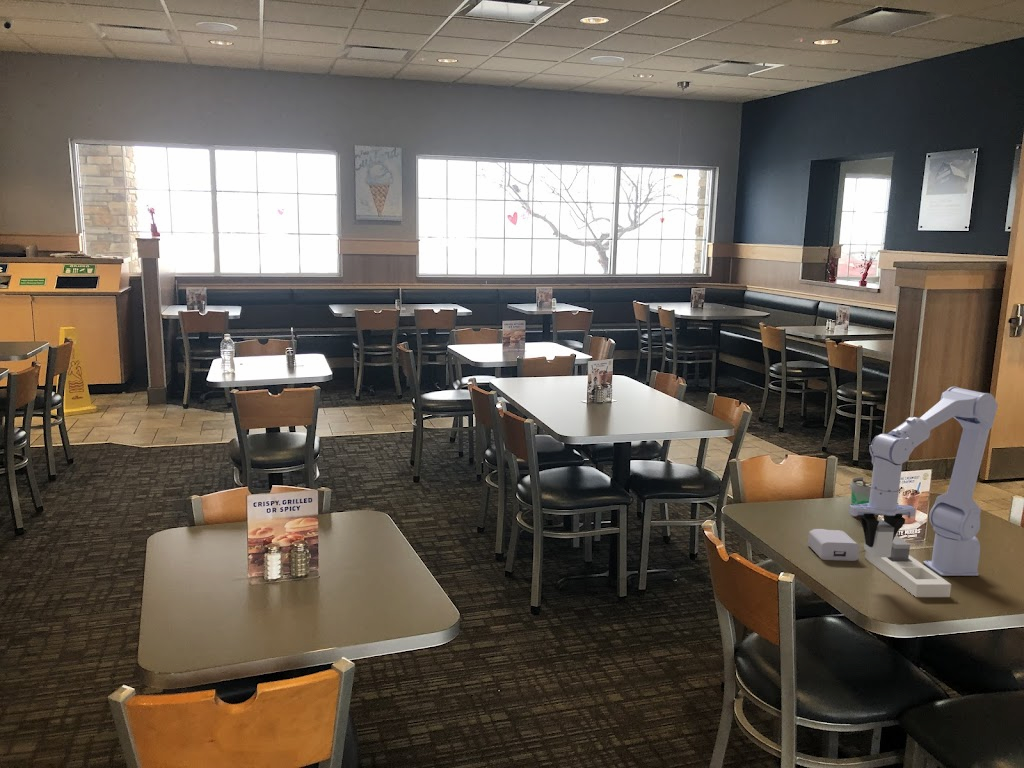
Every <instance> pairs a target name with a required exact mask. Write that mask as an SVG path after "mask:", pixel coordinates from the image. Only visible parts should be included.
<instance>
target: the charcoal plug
mask: <svg viewBox="0 0 1024 768" xmlns="http://www.w3.org/2000/svg"><path fill="white" fill-rule="evenodd" d="M910 548H911V544H910V543H909V542H907V541H906V540H904V539H903V538H901V537H900V536H895V537H894V540H893V542H892V549H891V557H887V558H888V559H889V560H891V561H892V562H908V557H909V555H910Z"/></svg>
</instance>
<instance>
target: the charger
mask: <svg viewBox="0 0 1024 768" xmlns="http://www.w3.org/2000/svg"><path fill="white" fill-rule="evenodd" d="M807 545H808V546H809V547H810V548H811V550H812V551H813V552H815V554H816V555H817V556H818V557H819V558H820V559H821V560H825V561H849V562H850V561H853V562H854V561H855V562H856V561H858V559H859V554H860V545H859V544H858V542H856V541H855V540H854V539H852V537H851V536H849V535H848V534H847V533H846V532H845V531H843V530H839V529H837V530H835V529H826V528H813V529H811V530H810V531H808V539H807Z"/></svg>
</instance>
